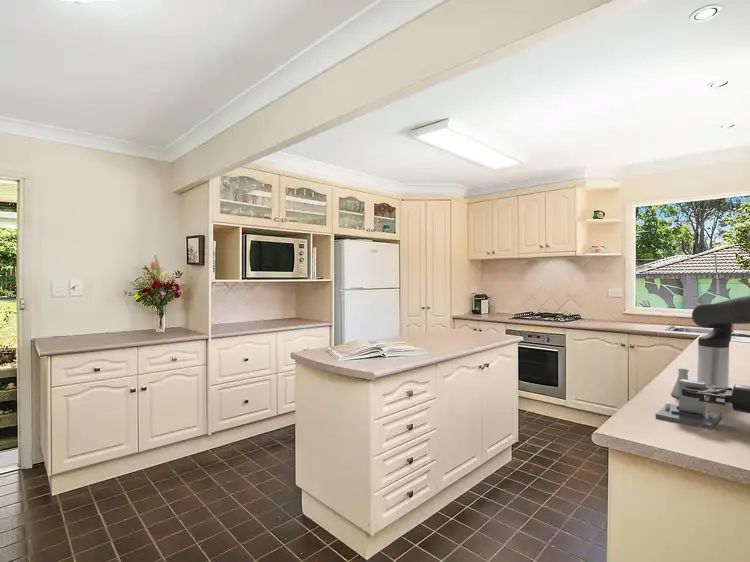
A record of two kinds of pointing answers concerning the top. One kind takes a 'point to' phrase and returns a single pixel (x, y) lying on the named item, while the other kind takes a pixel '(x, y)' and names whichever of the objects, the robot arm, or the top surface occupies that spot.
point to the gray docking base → (688, 416)
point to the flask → (682, 375)
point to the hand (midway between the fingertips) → (685, 389)
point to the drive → (690, 403)
